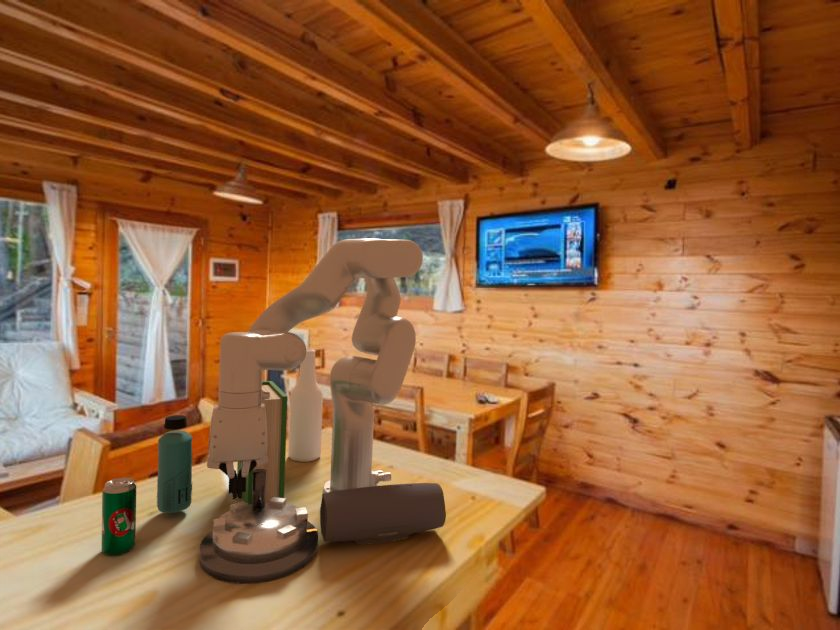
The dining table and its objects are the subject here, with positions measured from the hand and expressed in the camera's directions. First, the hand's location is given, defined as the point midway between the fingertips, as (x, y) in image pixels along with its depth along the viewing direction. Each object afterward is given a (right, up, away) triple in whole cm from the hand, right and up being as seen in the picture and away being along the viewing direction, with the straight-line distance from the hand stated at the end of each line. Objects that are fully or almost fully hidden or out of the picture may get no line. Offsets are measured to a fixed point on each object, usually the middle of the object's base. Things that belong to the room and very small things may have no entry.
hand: (236, 496), depth 91 cm
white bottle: (+2, -6, +44) cm, 45 cm away
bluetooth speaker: (+27, -9, +2) cm, 28 cm away
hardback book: (-2, -7, +20) cm, 21 cm away
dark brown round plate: (+6, -8, -4) cm, 11 cm away
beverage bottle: (-16, -7, +8) cm, 19 cm away
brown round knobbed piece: (+6, -6, -4) cm, 9 cm away
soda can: (-18, -7, -6) cm, 21 cm away
